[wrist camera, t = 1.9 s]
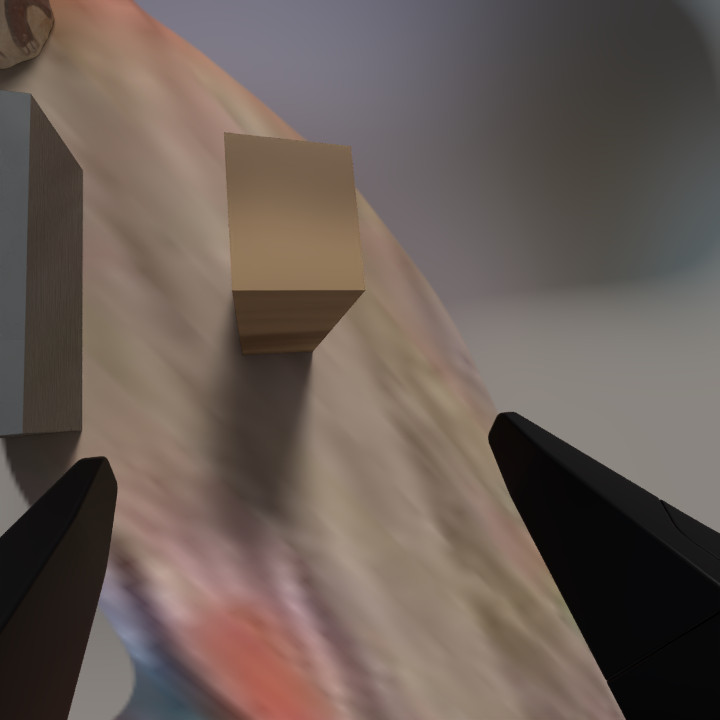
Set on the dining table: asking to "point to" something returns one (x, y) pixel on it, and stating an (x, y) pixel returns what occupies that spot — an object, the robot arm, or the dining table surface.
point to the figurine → (23, 29)
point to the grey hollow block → (39, 274)
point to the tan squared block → (291, 240)
